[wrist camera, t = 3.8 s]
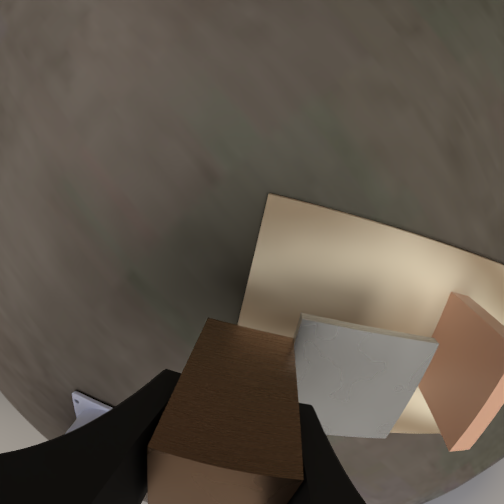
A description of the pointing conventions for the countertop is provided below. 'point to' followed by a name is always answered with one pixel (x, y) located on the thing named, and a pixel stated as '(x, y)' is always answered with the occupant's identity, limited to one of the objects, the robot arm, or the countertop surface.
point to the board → (360, 279)
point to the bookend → (275, 405)
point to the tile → (465, 372)
